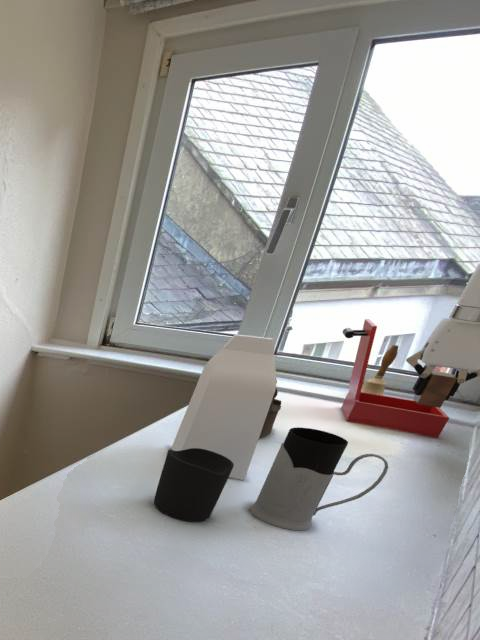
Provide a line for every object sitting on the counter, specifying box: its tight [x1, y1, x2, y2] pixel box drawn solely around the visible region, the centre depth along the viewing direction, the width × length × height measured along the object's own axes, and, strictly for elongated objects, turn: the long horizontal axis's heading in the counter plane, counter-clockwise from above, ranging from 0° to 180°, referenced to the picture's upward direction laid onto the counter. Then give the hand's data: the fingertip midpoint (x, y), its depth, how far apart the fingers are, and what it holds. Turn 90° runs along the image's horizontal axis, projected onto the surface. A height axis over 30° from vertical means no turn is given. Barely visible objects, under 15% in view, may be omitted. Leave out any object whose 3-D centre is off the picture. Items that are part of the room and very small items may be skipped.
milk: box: [171, 333, 277, 481], centre depth 108 cm, size 12×12×26 cm
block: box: [412, 370, 457, 409], centre depth 126 cm, size 4×5×7 cm
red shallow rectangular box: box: [340, 389, 450, 439], centre depth 142 cm, size 18×14×5 cm
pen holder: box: [153, 448, 234, 523], centre depth 92 cm, size 9×9×10 cm
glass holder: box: [249, 427, 389, 531], centre depth 89 cm, size 9×14×15 cm, turn 60°
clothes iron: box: [259, 379, 282, 439], centre depth 129 cm, size 8×16×13 cm, turn 140°
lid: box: [342, 318, 378, 400], centre depth 143 cm, size 18×14×5 cm
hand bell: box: [361, 344, 399, 396], centre depth 159 cm, size 8×8×16 cm
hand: (430, 395), depth 127 cm, fingers closed on block, 4 cm apart
